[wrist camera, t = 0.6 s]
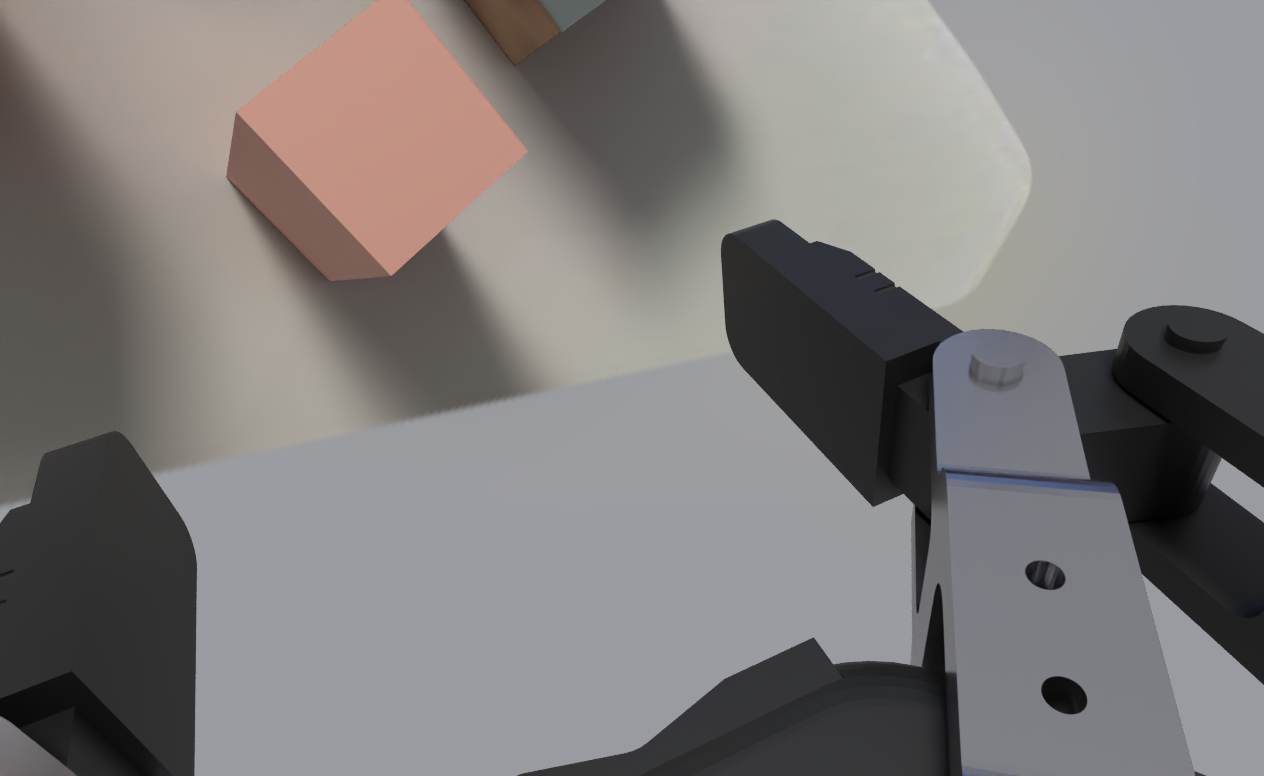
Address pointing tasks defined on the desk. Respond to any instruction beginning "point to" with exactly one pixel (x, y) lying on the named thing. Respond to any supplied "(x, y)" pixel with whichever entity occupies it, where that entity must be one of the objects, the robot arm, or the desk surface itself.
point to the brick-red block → (369, 145)
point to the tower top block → (569, 10)
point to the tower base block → (516, 25)
